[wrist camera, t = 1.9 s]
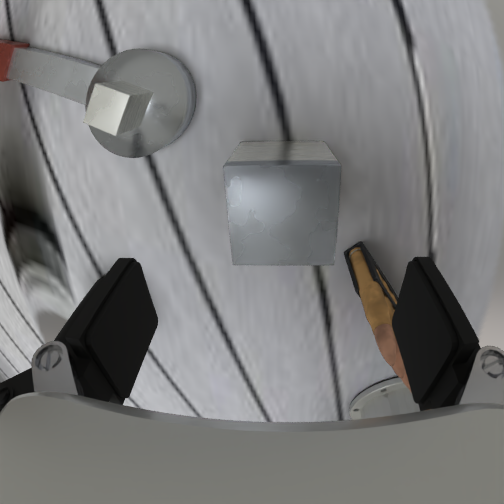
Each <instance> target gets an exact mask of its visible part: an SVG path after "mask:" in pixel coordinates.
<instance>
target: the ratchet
mask: <svg viewBox="0 0 504 504" xmlns="http://www.w3.org/2000/svg"><path fill="white" fill-rule="evenodd" d="M8 80H14V81H18V82H21V83H24V84H27V85H30V86H33V87H36V88H39V89H42V90H45V91H48V92H51V93H54V94H56V95H59V96H62V97H65V98H68V99H70V100H73V101H76V102H78V103H81V104H84V105H86V115H85V118H84V122H83V123H86V124H88V125H89V127H90V129H91V132H92V134H93V135H94V137H95V138H96V140H97V141H98V142H99V143H100V144H101V145H102V146H103V147H104V148H106V149H107V150H108V151H110V152H112V153H114V154H116V155H119V156H122V157H129V158H138V157H143V156H147V155H150V154H152V153H154V152H156V151H158V150H160V149H161V148H163V147H165V146H167V145H168V144H170V143H171V142H173V141H174V140H176V139H177V138H178V137H179V136H180V135H181V134H182V133H183V132H184V131H185V129H186V128H187V126H188V125H189V123H190V121H191V119H192V116H193V114H194V110H195V105H196V90H195V85H194V82H193V79H192V77H191V74H190V73H189V71H188V70H187V68H186V67H185V66H184V65H183V64H182V63H181V62H180V61H179V60H178V59H176V58H175V57H173V56H171V55H169V54H166V53H162V52H158V51H153V50H147V49H131V50H126V51H123V52H121V53H118V54H116V55H115V56H113V57H111V58H110V59H108V60H107V61H106V62H105V63H104V64H103V65H98V64H95V63H92V62H88V61H85V60H81V59H78V58H74V57H70V56H66V55H62V54H58V53H54V52H50V51H46V50H41V49H37V48H32V47H29V44H27V43H22V42H16V41H10V40H4V39H0V81H2V82H3V81H8Z"/></svg>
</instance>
